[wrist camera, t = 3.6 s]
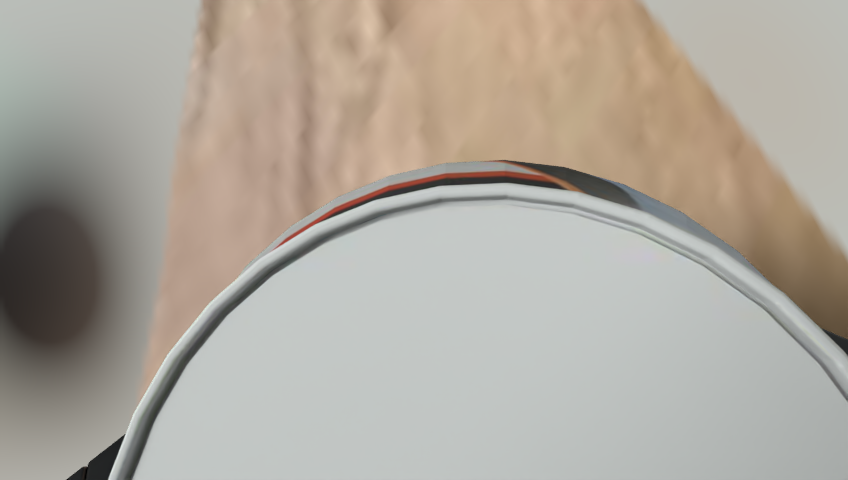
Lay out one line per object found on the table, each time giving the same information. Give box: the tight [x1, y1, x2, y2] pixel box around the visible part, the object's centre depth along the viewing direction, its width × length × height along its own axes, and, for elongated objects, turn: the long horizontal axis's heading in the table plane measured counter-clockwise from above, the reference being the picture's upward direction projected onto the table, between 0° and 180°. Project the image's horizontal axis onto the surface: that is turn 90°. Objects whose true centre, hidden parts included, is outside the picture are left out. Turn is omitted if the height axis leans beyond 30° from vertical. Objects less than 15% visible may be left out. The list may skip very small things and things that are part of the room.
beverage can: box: [108, 160, 848, 480], centre depth 8 cm, size 6×7×12 cm
